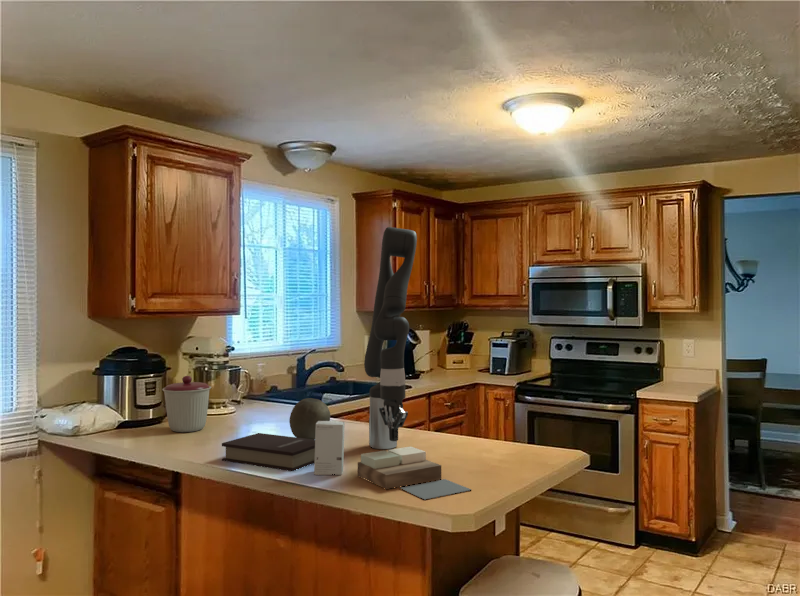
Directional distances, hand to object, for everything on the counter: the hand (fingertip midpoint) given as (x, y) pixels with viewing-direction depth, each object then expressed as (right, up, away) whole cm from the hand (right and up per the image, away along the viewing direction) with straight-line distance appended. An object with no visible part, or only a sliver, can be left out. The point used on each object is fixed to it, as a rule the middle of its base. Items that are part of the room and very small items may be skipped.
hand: (393, 440), depth 200 cm
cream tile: (+4, -4, -7) cm, 9 cm away
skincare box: (-19, -8, -6) cm, 21 cm away
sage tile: (-4, -4, -12) cm, 13 cm away
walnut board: (+2, -8, -12) cm, 14 cm away
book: (-37, -9, +11) cm, 40 cm away
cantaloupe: (-30, -8, +38) cm, 49 cm away
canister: (-81, -9, +58) cm, 100 cm away
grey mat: (+11, -8, -24) cm, 27 cm away
